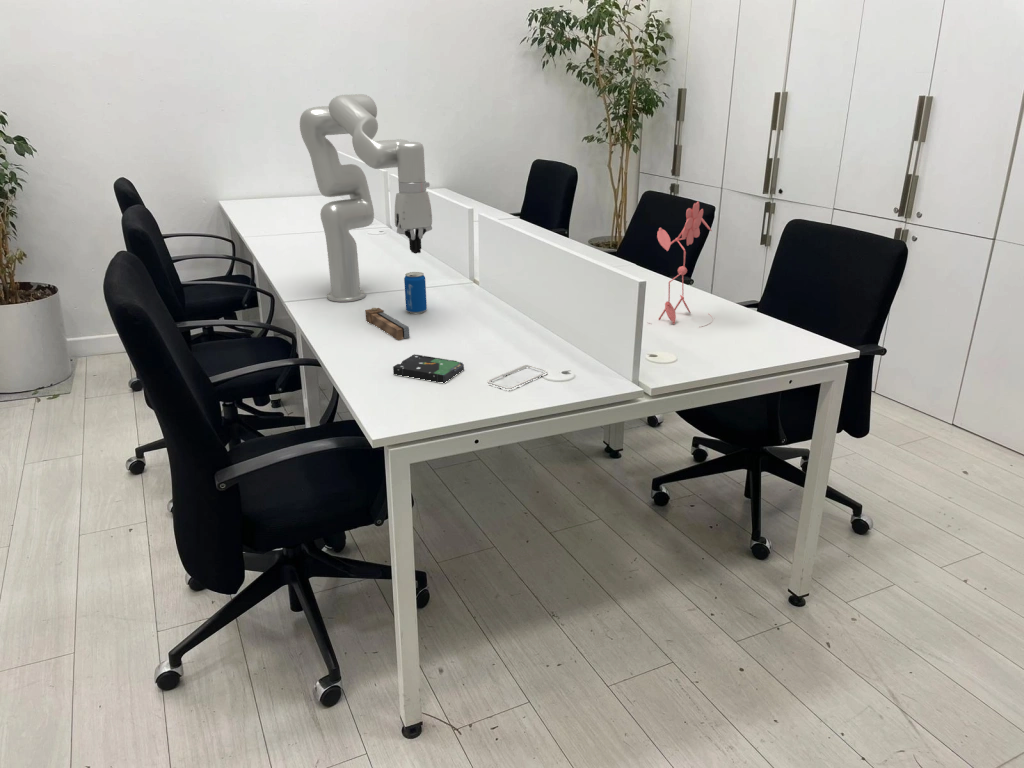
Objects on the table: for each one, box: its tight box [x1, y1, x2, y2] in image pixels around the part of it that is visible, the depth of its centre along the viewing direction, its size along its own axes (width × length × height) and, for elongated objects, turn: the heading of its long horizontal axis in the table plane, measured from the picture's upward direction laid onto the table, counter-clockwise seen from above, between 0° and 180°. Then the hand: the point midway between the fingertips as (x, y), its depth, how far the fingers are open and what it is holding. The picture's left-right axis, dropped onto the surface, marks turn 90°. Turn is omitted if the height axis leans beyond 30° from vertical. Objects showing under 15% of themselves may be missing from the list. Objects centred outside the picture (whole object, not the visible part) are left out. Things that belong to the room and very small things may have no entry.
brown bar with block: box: [364, 307, 404, 341], centre depth 225 cm, size 22×4×4 cm, turn 33°
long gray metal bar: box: [378, 312, 410, 339], centre depth 224 cm, size 18×2×3 cm, turn 33°
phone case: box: [486, 364, 548, 389], centre depth 189 cm, size 7×1×15 cm
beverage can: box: [403, 271, 428, 314], centre depth 240 cm, size 6×6×12 cm
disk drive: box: [392, 353, 465, 384], centre depth 194 cm, size 10×3×15 cm
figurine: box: [646, 200, 713, 328], centre depth 225 cm, size 15×26×35 cm, turn 142°
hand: (415, 252), depth 225 cm, fingers closed
